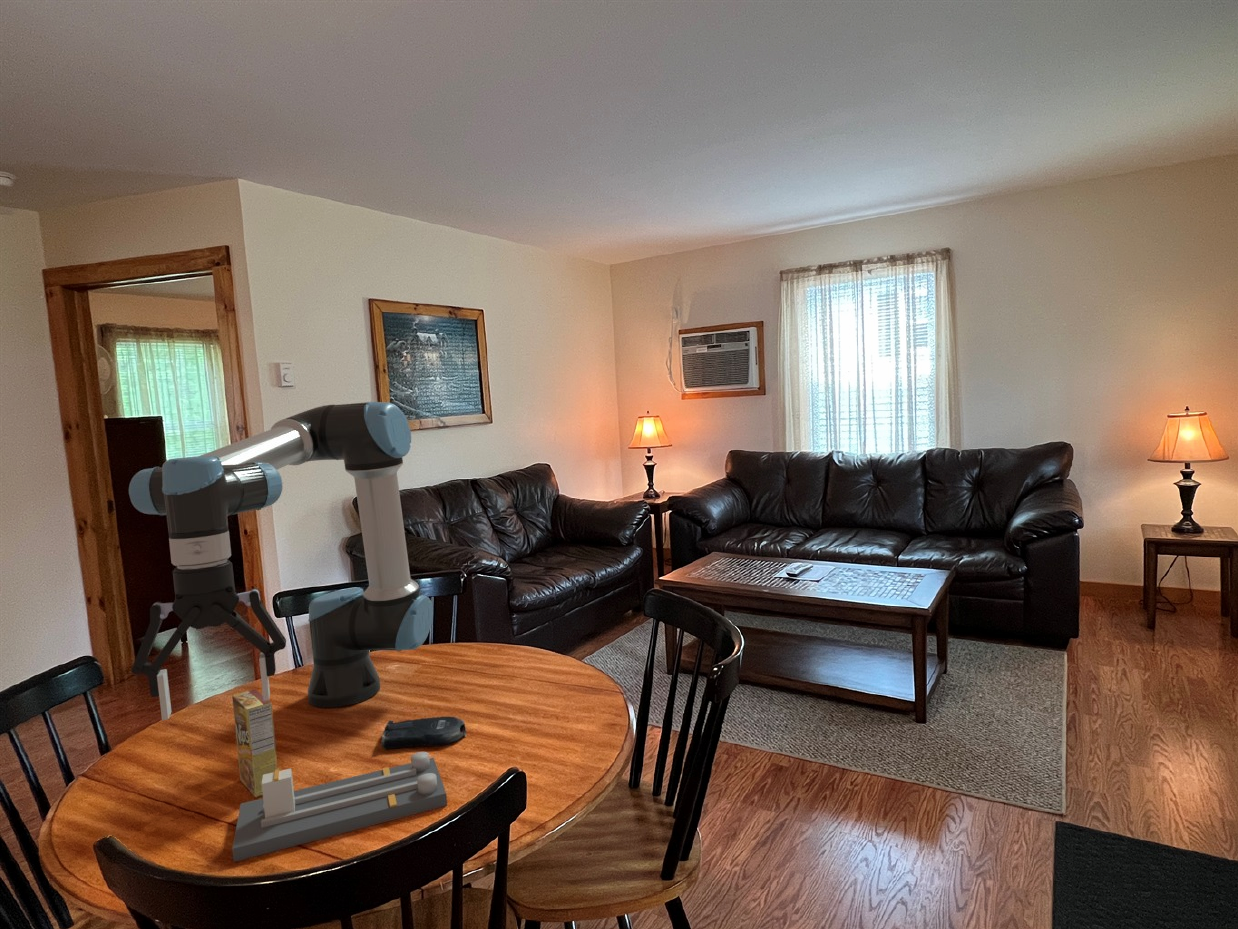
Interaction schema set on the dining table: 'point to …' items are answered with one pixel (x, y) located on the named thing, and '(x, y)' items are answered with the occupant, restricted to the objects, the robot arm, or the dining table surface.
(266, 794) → the fader tab
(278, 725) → the dining table surface
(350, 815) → the console board
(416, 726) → the electronic device
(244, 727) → the candy box
